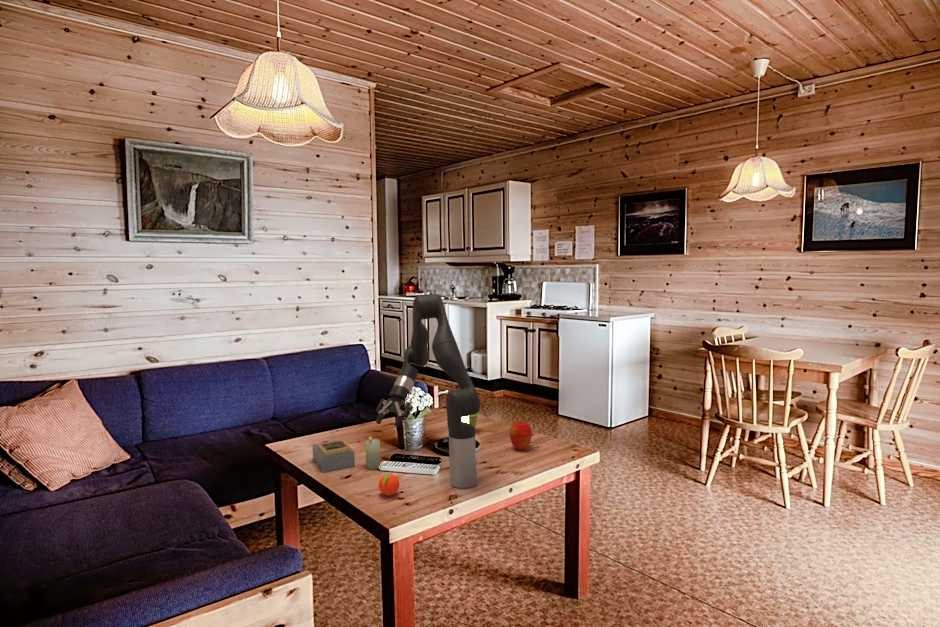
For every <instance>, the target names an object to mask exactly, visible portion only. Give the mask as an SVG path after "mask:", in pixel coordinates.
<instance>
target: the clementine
mask: <svg viewBox="0 0 940 627" xmlns="http://www.w3.org/2000/svg"><path fill="white" fill-rule="evenodd" d="M378 489H379V491H380V493H381V494H382V495H385V496H389V497H390V496H393V495H395V494H396V493H397V492H398V491H399V489H400V480H399V478H398V477H397V476H396V475H395V474H392V473H387V474H384V475H382V476H381V478H379V481H378Z"/></svg>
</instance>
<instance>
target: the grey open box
mask: <svg viewBox="0 0 940 627" xmlns="http://www.w3.org/2000/svg"><path fill="white" fill-rule="evenodd" d="M311 449H312V460H313V461H314V463H315V464H316V465H317V467H318V468H319V469H320V471H321V472H322V473H323V474H325V473H329V472H333V471H339V470H344V469H349V468H354V467H356V463H355V461H356V460H355V450H354V449H352V447H351V446H350V445H349V444H348V443H347V442H346V441H345V440H344V439H337V440H332V441H326V442H321V443H315V444H314V443H313V444H312V447H311Z"/></svg>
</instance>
